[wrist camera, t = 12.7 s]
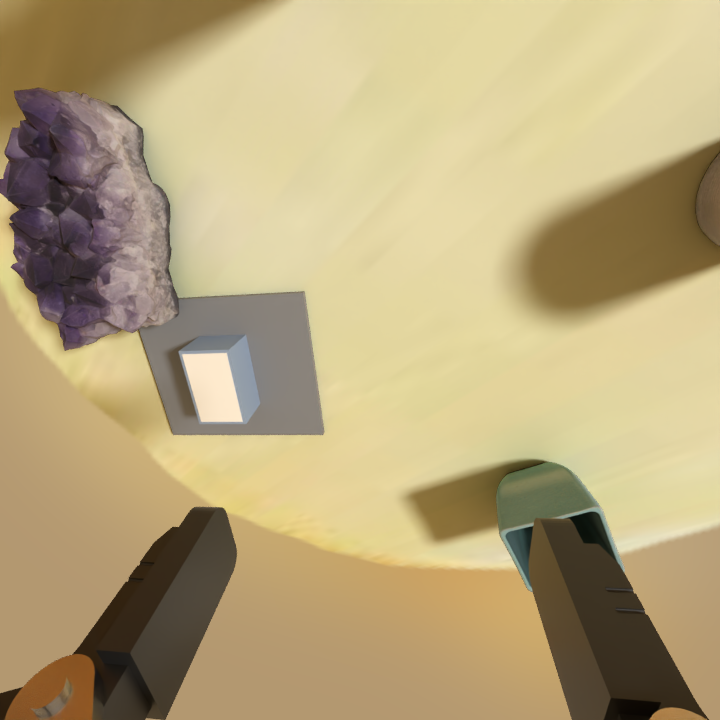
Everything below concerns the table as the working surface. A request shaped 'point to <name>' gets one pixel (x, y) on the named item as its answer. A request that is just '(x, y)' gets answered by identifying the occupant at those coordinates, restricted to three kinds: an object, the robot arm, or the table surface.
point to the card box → (221, 379)
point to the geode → (87, 217)
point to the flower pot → (547, 511)
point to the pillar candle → (710, 202)
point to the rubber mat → (268, 355)
